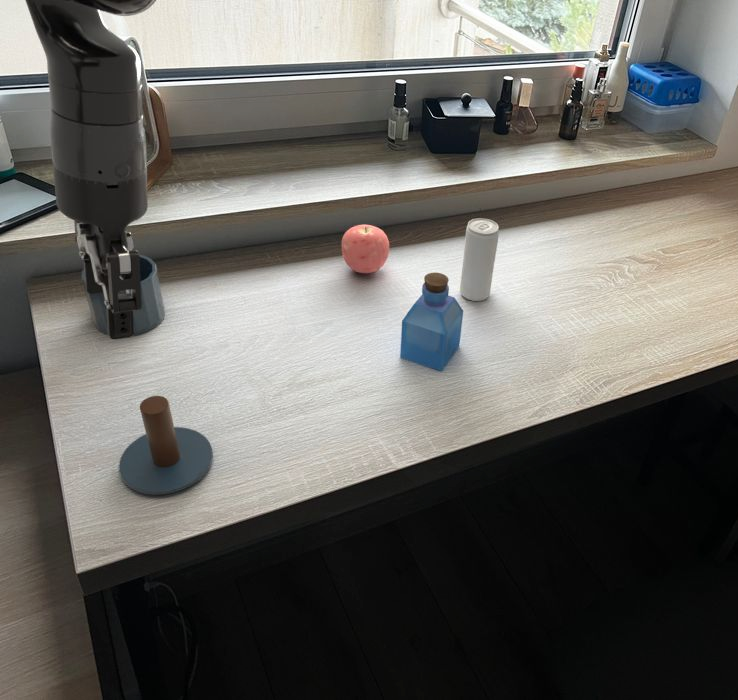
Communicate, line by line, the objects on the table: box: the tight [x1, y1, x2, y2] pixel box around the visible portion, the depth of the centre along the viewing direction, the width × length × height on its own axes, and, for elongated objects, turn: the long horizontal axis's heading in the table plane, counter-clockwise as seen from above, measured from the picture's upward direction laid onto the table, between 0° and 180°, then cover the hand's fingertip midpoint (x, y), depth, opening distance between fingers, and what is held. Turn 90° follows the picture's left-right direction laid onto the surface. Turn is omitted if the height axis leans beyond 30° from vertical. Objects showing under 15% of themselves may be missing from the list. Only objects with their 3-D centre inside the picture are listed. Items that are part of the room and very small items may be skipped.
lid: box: [118, 395, 214, 496], centre depth 77 cm, size 10×10×9 cm
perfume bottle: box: [399, 272, 464, 372], centre depth 97 cm, size 6×6×12 cm
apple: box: [341, 224, 390, 274], centre depth 112 cm, size 7×7×8 cm
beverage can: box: [459, 217, 500, 302], centre depth 109 cm, size 5×5×12 cm
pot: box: [81, 253, 166, 337], centre depth 97 cm, size 9×9×8 cm
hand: (109, 313), depth 73 cm, fingers open, 8 cm apart
